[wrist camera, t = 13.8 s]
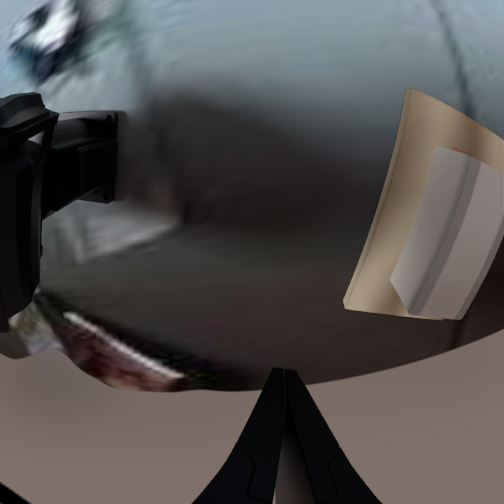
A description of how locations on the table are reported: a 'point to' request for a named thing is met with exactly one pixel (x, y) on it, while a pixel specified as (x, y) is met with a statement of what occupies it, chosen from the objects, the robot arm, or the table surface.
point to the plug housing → (451, 236)
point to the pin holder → (412, 193)
